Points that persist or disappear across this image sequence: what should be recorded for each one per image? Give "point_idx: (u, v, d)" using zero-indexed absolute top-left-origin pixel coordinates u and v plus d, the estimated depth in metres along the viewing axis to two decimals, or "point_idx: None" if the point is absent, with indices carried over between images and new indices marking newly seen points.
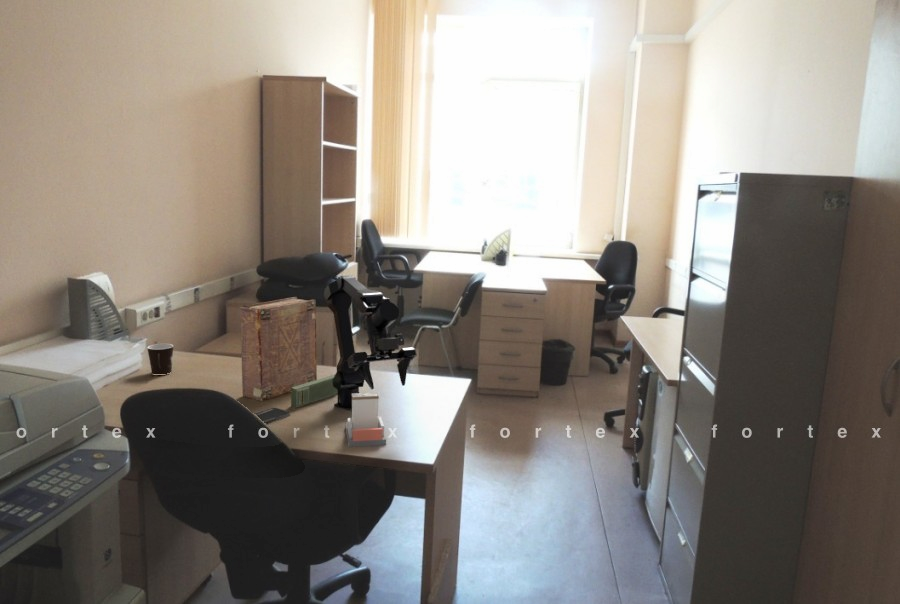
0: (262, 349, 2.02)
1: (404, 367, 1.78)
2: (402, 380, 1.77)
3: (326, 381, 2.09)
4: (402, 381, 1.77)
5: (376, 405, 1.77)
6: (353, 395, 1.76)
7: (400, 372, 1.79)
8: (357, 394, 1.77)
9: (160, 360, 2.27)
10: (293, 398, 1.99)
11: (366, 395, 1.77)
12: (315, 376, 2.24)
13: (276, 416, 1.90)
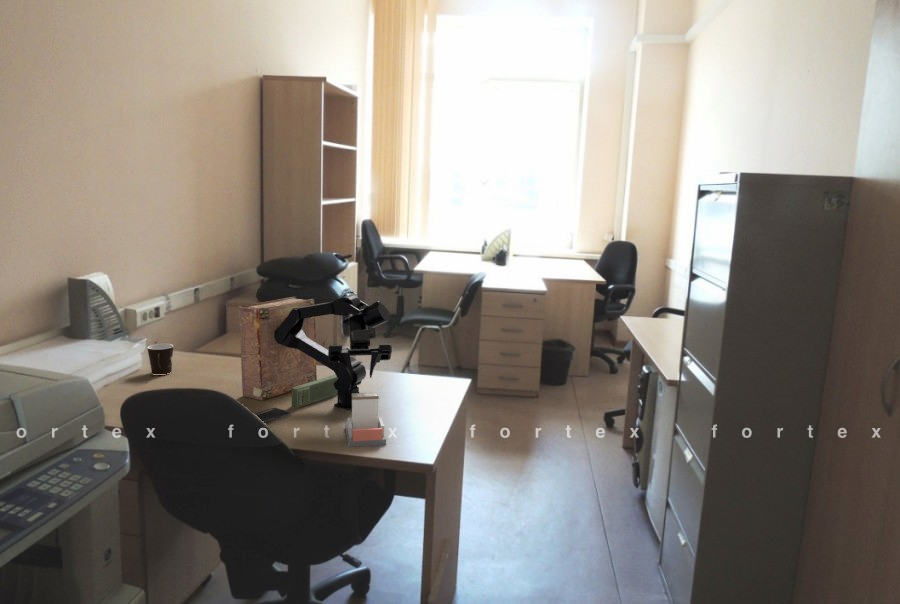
0: (261, 348, 2.02)
1: (372, 361, 1.89)
2: (370, 372, 1.88)
3: (327, 381, 2.09)
4: (370, 373, 1.88)
5: (376, 405, 1.77)
6: (353, 395, 1.76)
7: (370, 366, 1.90)
8: (357, 394, 1.77)
9: (160, 360, 2.27)
10: (294, 398, 1.99)
11: (366, 395, 1.77)
12: (315, 375, 2.24)
13: (276, 416, 1.90)
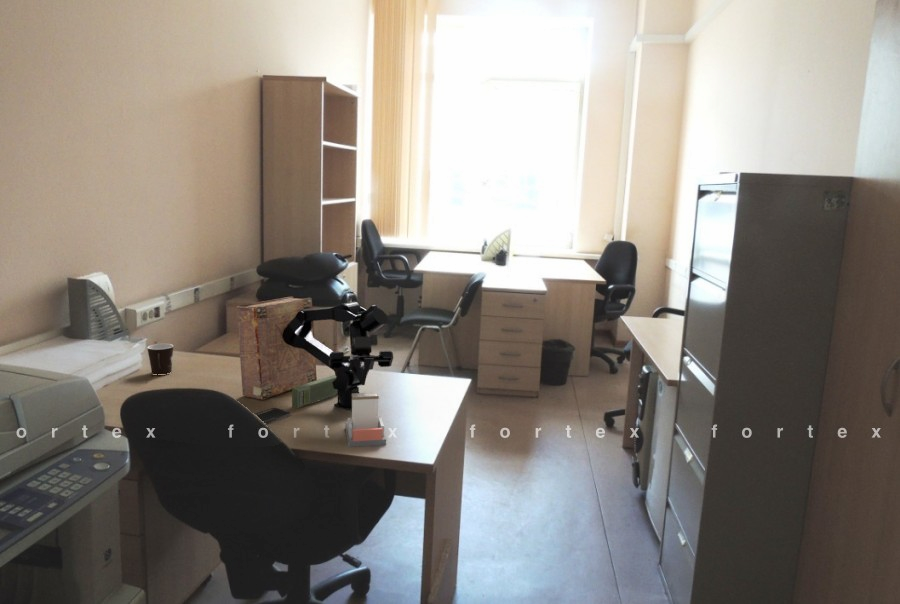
0: (260, 347, 2.02)
1: (366, 368, 1.88)
2: None
3: (327, 381, 2.09)
4: None
5: (376, 405, 1.77)
6: (353, 395, 1.76)
7: (363, 373, 1.89)
8: (357, 394, 1.77)
9: (160, 360, 2.27)
10: (294, 398, 1.99)
11: (366, 395, 1.77)
12: (314, 374, 2.24)
13: (276, 416, 1.90)
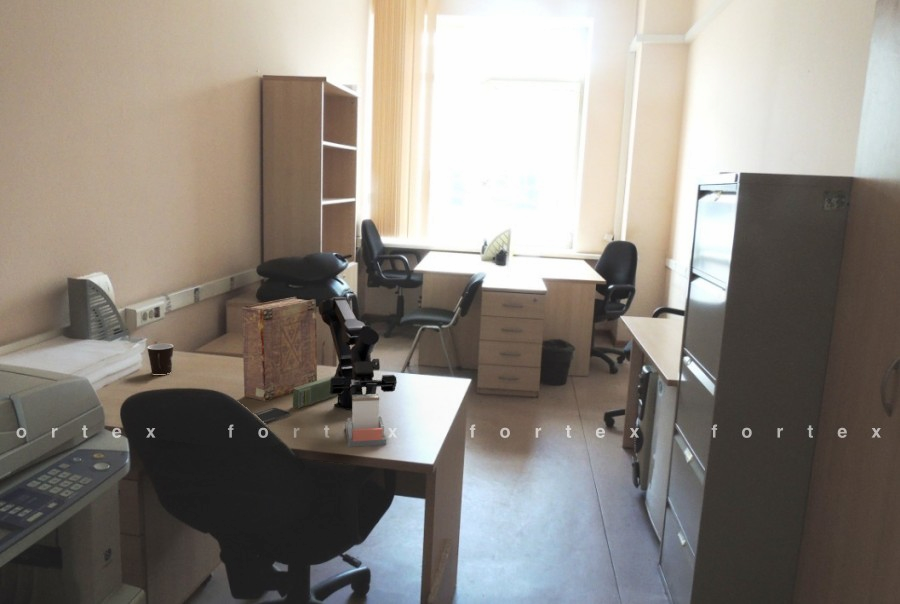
0: (265, 349, 2.02)
1: None
2: None
3: (328, 382, 2.09)
4: None
5: (377, 407, 1.76)
6: (353, 396, 1.75)
7: None
8: (357, 396, 1.76)
9: (160, 360, 2.27)
10: (295, 398, 1.99)
11: (366, 396, 1.75)
12: (315, 376, 2.25)
13: (276, 416, 1.90)
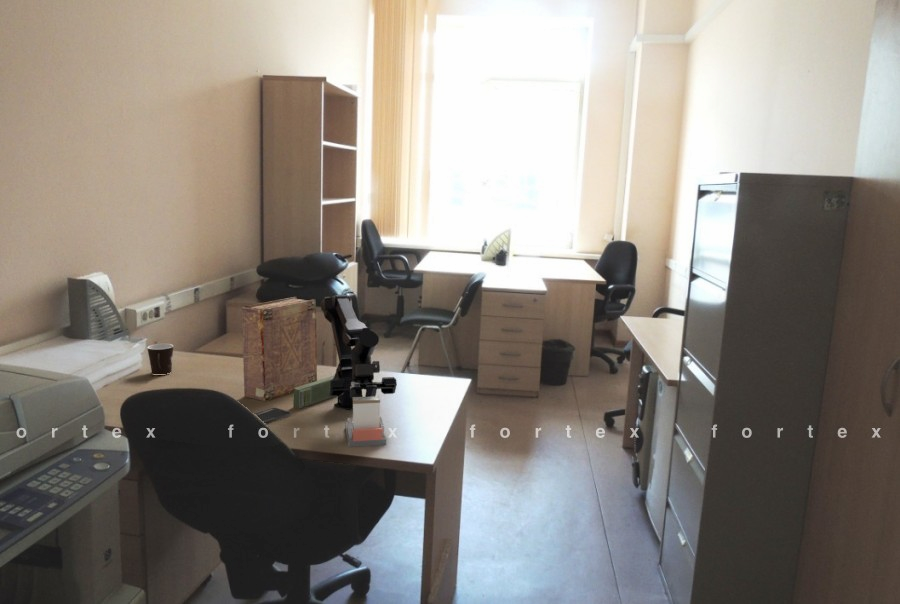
0: (265, 349, 2.02)
1: (367, 396, 1.79)
2: None
3: (328, 382, 2.08)
4: None
5: (377, 409, 1.74)
6: (354, 399, 1.73)
7: None
8: (358, 398, 1.74)
9: (160, 360, 2.27)
10: (296, 398, 1.98)
11: (367, 399, 1.73)
12: (315, 376, 2.25)
13: (276, 416, 1.90)
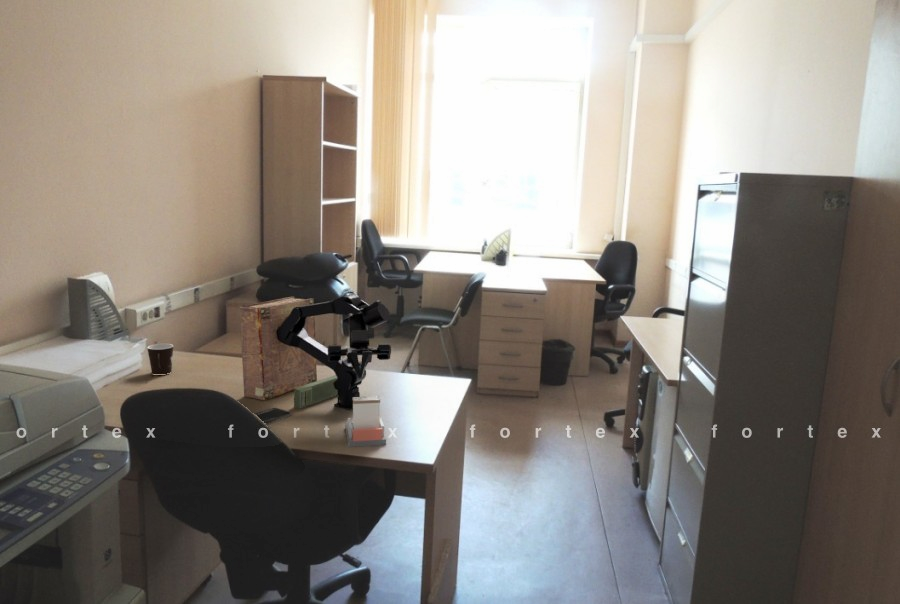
0: (263, 348, 2.02)
1: (363, 361, 1.89)
2: None
3: (329, 382, 2.08)
4: None
5: (377, 409, 1.74)
6: (354, 399, 1.73)
7: None
8: (358, 398, 1.74)
9: (160, 360, 2.27)
10: (297, 398, 1.98)
11: (367, 399, 1.73)
12: (315, 375, 2.25)
13: (276, 416, 1.90)
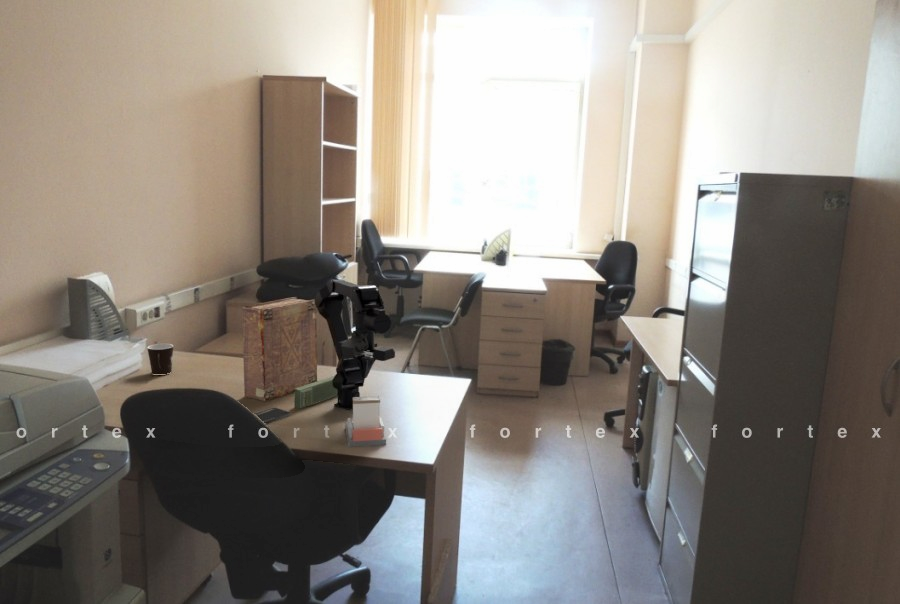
0: (265, 349, 2.02)
1: (364, 364, 1.90)
2: None
3: (329, 382, 2.08)
4: None
5: (377, 409, 1.74)
6: (354, 399, 1.73)
7: None
8: (358, 398, 1.74)
9: (160, 360, 2.27)
10: (297, 399, 1.98)
11: (367, 399, 1.73)
12: (315, 376, 2.25)
13: (276, 416, 1.90)
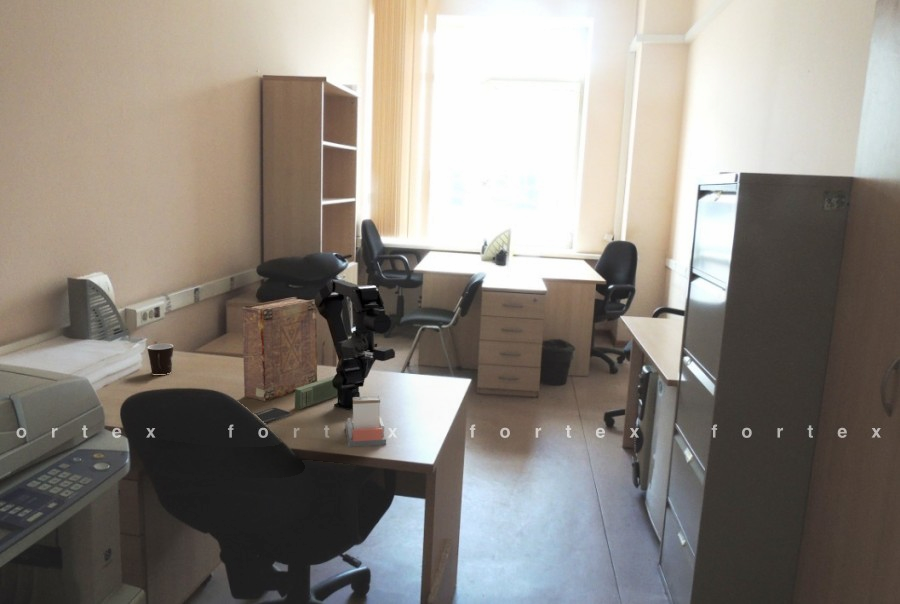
0: (265, 349, 2.02)
1: (364, 364, 1.90)
2: None
3: (329, 382, 2.08)
4: None
5: (377, 409, 1.74)
6: (354, 399, 1.73)
7: None
8: (358, 398, 1.74)
9: (160, 360, 2.27)
10: (297, 399, 1.98)
11: (367, 399, 1.73)
12: (315, 376, 2.25)
13: (276, 416, 1.90)
